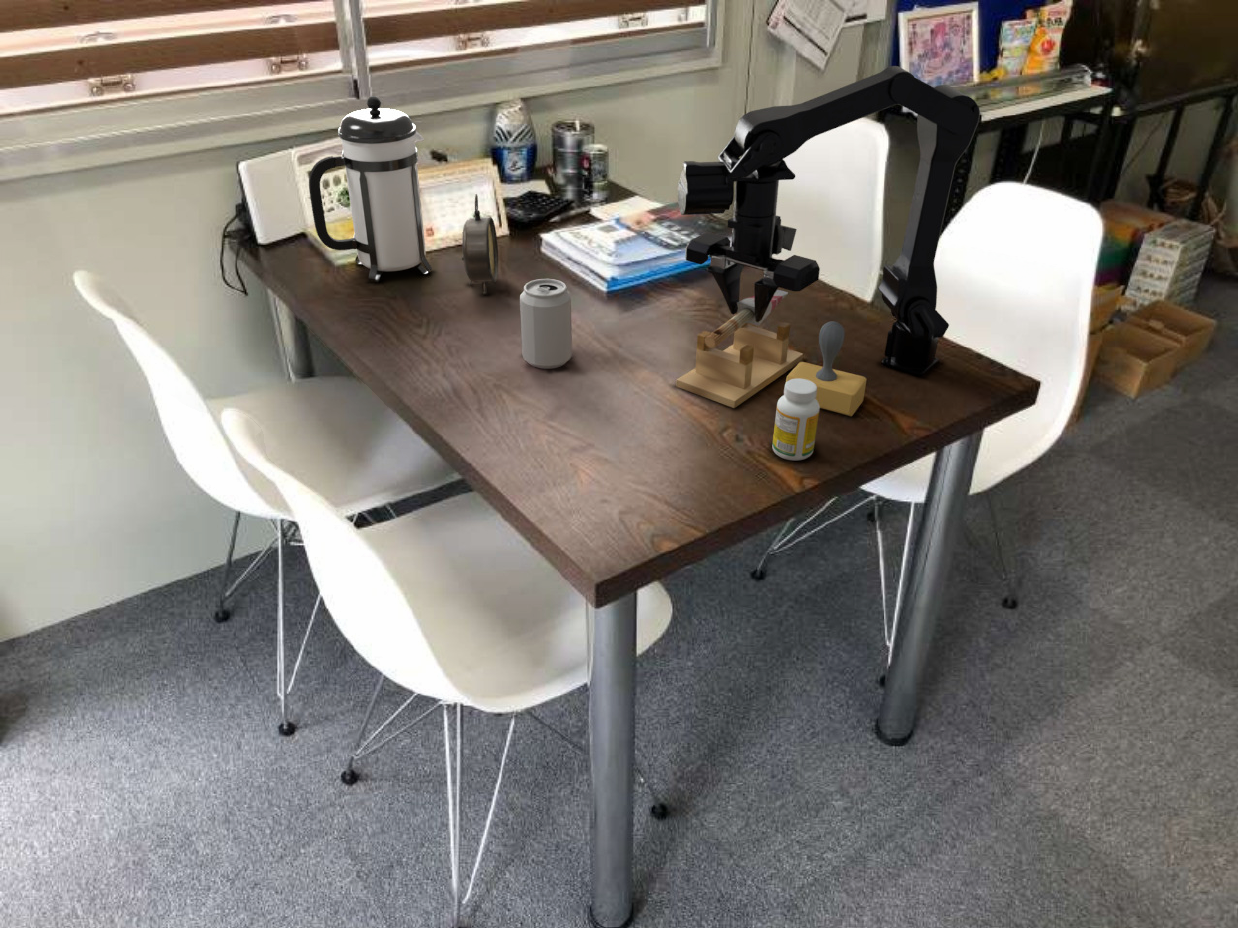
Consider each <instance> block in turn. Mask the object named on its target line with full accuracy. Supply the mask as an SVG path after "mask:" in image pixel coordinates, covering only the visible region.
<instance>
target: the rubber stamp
mask: <svg viewBox="0 0 1238 928" xmlns="http://www.w3.org/2000/svg"><path fill="white" fill-rule="evenodd" d="M845 335H846V334H845V327H843V325H842V324H840V322H837V321H834V320H833V321H828V322H826V323H824V324H823V325H822V326H821V328H820V331H819V334H818V344H819V348H820V352H821V356H822V361H823V362H822V363H823V364H822V365H823V366H821V365H817V364H814V363H809V362H805V361H801V362H799V363H798V364H797V365H796V366H794V367H793V368H792V370H791V371H790V372H789V373H788V375H787V376H786V379H785V383H786V382H787V381H789V380H791V379H806V380H809V381H812V382H813V383H815V384H816V386H817V393H816V397H815V399H816V400H817V401H818V403H819V406H820V409H821V410H825V411H829V412H833V413H837V414H840V415H844V416H848V417H853V415H854V414H855V413H856V412H857V410H858V409H859V407H860V406H861V404H862V403H863V402H864V398H865V392H866V385H867V378H866V377H865V376H863V375H860V374H854V373H852V372H851V373H850V372H847V371H844V370H843V371H842V370H838V369H834V368H833V364H834V361H835V359H836V357H837V356H838V354H839V353H840V351H841V350H842V347H843V345H844V341H845Z"/></svg>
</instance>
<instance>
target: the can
mask: <svg viewBox="0 0 1238 928" xmlns="http://www.w3.org/2000/svg"><path fill="white" fill-rule="evenodd" d="M519 309H520V311H519V312H520V329H521V331H520V333H521V351H522V353H521V354H522V358H523V359H524V361H526V362H527V363H528V364H529V365H530V366H532V367H535V368H537V369H543V370H548V369H549V370H550V369H557V368H559V367H562V366H564V365H566V363H567V362H568V361H570V360H571V358H572V357H573V339H572V338H573V337H572V336H573V335H572V334H573V333H572V332H573V331H572V294H571V293H570V292H569V291H568V288H567V284H565V282H563V281H561V280H558V279H554V278H539V279H538V278H537V279H533V280H530V281H529V282H527V283H525V285H524V286H523V291H522V292H521V294H520V295H519Z"/></svg>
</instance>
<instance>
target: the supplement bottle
mask: <svg viewBox="0 0 1238 928" xmlns="http://www.w3.org/2000/svg"><path fill="white" fill-rule="evenodd" d="M816 393H817V386H816V384H815V383H813V382H812V381H809V380H806V379H791V380H789V381H787V382H786V381H785V384H784V389H783V395H782V396H781V397H779V398H778V400H777V403H776V409H775V410H776V411H775V418H774V428H773V435H772V445H771V447H772V451H773V452H774V454H775V455H776V456H777V457H779V458H781V459H784V460H786V461H803V460H806V459H808V458H810V457H811V456H812V455H813V453H814V450H815V442H816V436H817V435H816V434H817V428H818V422H819V416H820V409H821V408H820V406H819V403H818V401H817V400H816V399H815V397H816Z"/></svg>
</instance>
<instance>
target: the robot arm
mask: <svg viewBox="0 0 1238 928" xmlns="http://www.w3.org/2000/svg"><path fill="white" fill-rule="evenodd" d="M897 105H900V106H902V107H904V108H906V109H907V110H909V111H911V112H913V113H915V114H917V121H916V122H917V123H916V126H917V127H916V134H917V140H918V145H919V146H918V147H919V153H920V159H919V163H918V168H917V174H916V179H915V184H914V189H913V193H912V198H911V203H910V208H909V213H908V218H907V223H906V226H905V227H906V228H905V232H904V237H903V242H902V248H901V252H900V255H899V257H898V259H896V260H895V262H894V263H893V265H892V264H884V265H883V268H882V280H881V282H880V285H879V286H878V287H877V289H878V291H879V293H881V299H882V301H883V303H884V304H885V305H886V306H887V308H888V309H889V310H890V313H891V315H892V316H893V317H894V318H895V319H896V320H895V321H894V322H893V323H892V326H891V329H890V330H888V332H887V337H886V341H885V342H886V343H885V348H884V357H885V358H883V359H882V360H881V365H883V366H886V367H889V368H892V369H896V370H898V371H902V372H905V373H908V374H911V375H914V376H918V377H922V376H924V375H925V374H926V373H927V372H929V370H930V369H932V368H933V367H934V366H936V364H938V363H939V358H938V357H936V354H937V350H938V349H937V348H938V345H939V339H941V338H943V337H944V335H945V334H946V332H947V330H948V329H949V327H950V324H949V323H948V321H946V319H945V318H944V317H943V316H942V315H941V314H940V313H939V311H938V310H937V301H938V299H937V298H938V283H937V276H936V270H935V259H936V255H937V251H938V246H939V242H940V236H941V232H942V227H943V223H944V219H945V214H946V210H947V205H948V201H949V197H950V191H951V187H952V184H953V183H952V182H953V178H954V173H955V170H956V165H957V163H958V162H959V160H960V158H961V157H962V156H963V154H964V153H965V152H966V150H967V149H968V148H969V146H970V145H971V142H972V140H973V137H974V134H975V132H976V130H977V127H978V124H979V123H980V116H981V111H980V107H979V106H978V104H977V102H976V100H974V99H973V98H972V97H971V96H969V95H967V94H966V93H964V92H962V91H960V90H958V89H956V88H954V87H953V86H951V85H947V84H942V85H941V84H940V85H937V86H936V85H935V86H934V87H933V86H932V85H930V84H928V83H927V82H924V81H923V80H921V79H918V78H917V77H915V75H914V74H913V73H911V72H909V71H908V70H906V69H904V68H902V67H900V66H897V65H892V66H888V67H886V68H885V69H883V70H882V71H880V72H878V73H875V74H873V75H870V76H867V77H865V78H862V79H860V80H858V81H855V82H852V83H849V84H847V85H844V86H842V87H839V88H837V89H835V90H832V91H829V92H827V93H824V94H822V95H819V96H816V97H814V98H811V99H809V100H806V101H804V102H801V103H796V104H792V105H774V106H769V107H765V108H760V109H754V110H751V111H749V112H746V113H745V114H743V115H742V116H741V117H740V118H739V120H738V122H737V125H736V126H735V130H734V134H733V136H732V137H731V139H730V140H729V141H728V142H727V144H726V145H725V147H724V148H723V149H722V151H721V152H720V153H719V154H718V156H717V160H718V161H701V162H700V161H694V160H686V161H685V160H684V161H683V163H682V170H681V172H680V175H679V181H678V182H677V204H678V208H679V213H680V215H682V216H695V215H717V214H718V215H719V214H725V212H726V211H729V210H730V208H731V206H732V205H733V213H732V214H733V215H732V217H731V218H729V219H728V220H727V228H729V229H732V230H731V231H732V232H731V240H730V238H729V237H728V236H726V235H722V234H717V233H714V232H710V231H707V232H705V233H702V234H701V235H699V236H697V237H694V238H692V239H690V240H689V241H688V242H687V244H686V246H685V253H684V255H685V257H684V258H685V261H686V262H690V263H692V264H693V263H694V264H698V265H703V264H705V263H706V262H707V261H708V260H709V258H710V264H709V266H707V267H706V271H707V272H708V273H710V274H711V275H712V276H713V278H714V280H715V282H716V284H717V286H718V288H719V290H720V291H721V293H722V296H723V298H724V300H725V302H726V304H727V307H728V310H729V312H730V314H731V315H734V316H735V315H736V313H737V311H738V306H737V302H739V301H740V293H741V292H740V291H741V276H742V272H743V271H744V270H743V269H744V267H748V268H752V269H756V270H758V271H763V274H762V275H763V276H762V278H760V279H759V280H756V281H755V282H754V286H753V288H754V293H753V294H754V295H753V296H754V305H755V320H756V322H759V321H761V320H762V318H763V316H764V314H765V312H766V310H767V308H768V306H769V304H770V302H771V299H772V297H773V296H774V294H775V292H776V291H777V290H779V288H781V289H784V290H787V291H790V292H801V291H803V290H804V289H806V288H808V287H809V286H811V285H813V284H814V283H816V282H817V281H819V279H820V270H821V268H820V265H819V264H818V262H817V260H815V259H811V258H808V257H804V256H801V255H796V254H793V255H792V256H789V257H788V258H786V259H777V258H774V257H773V256H774V255H776V256H777V255H779V254H781V253H782V250H786V251H790V252H791V251H792V249H793V244H794V241H795V237H796V234H797V231H798V230H797V228H794V227H791V226H786V225H783V224H782V219H781V216H780V215H777V207H778V206H777V205H778V195H779V184H780V181H790V180H792V181H793V180H795V179H796V174H795V173H794V172H793V171H792V170H791V169H790V168H789V166H788V165H787V162H786V161H785V160H784V159H785V158H788V157H789V156H791V155H792V154H794V153H796V152H797V151H798V150H799V149H800V148H801V147H802V146H803V145H804V144H806V143H807V142H808V141H809V140H811V139H813V138H815V137H816V136H819V135H821V134H825V133H827V132H830V131H832V130H834V129H837V128H840V127H842V126H845V125H847V124H850V123H853V122H855V121H858V120H861V119H863V118H865V117H868V116H871V115H873V114H877V113H878V112H882V111H884V110H886V109H889V108H891V107H894V106H897Z"/></svg>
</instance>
